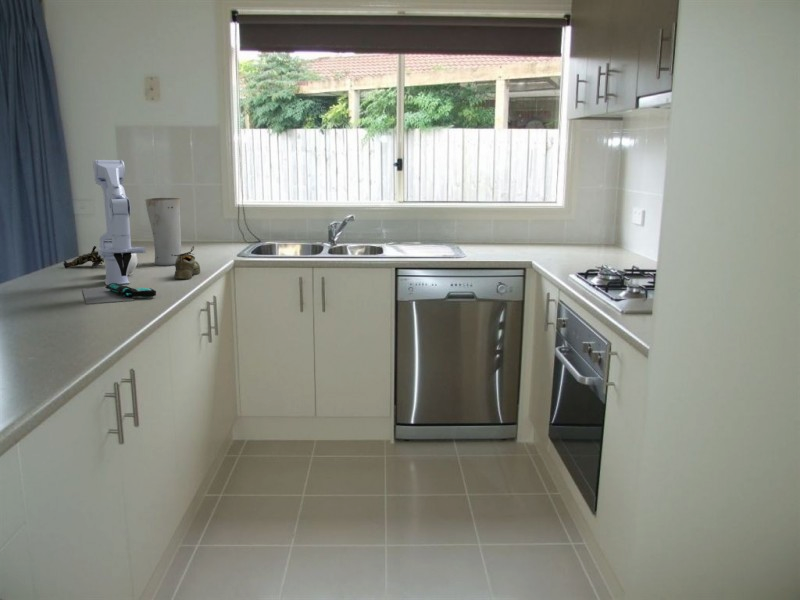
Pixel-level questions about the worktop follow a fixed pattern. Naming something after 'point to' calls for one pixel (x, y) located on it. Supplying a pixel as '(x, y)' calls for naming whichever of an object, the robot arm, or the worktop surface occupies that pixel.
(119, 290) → the toy gun
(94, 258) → the figurine
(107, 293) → the mat
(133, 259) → the decorative ball
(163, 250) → the vase
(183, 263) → the hiking shoe
